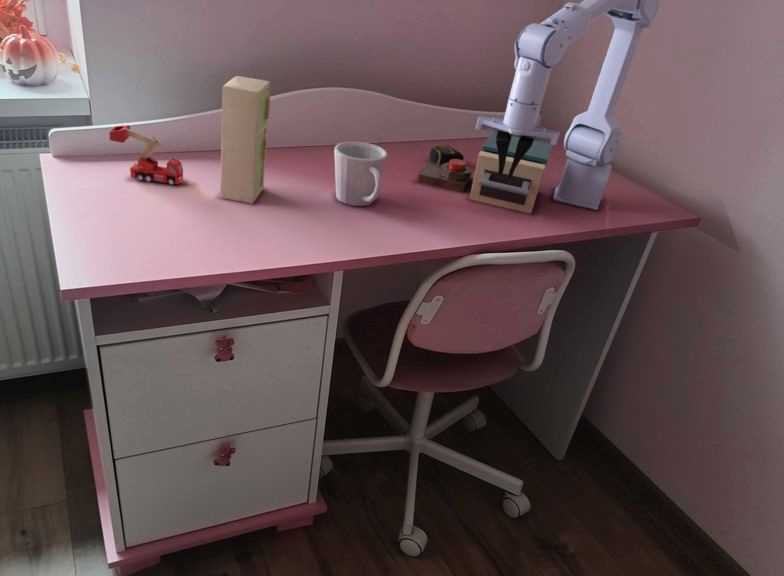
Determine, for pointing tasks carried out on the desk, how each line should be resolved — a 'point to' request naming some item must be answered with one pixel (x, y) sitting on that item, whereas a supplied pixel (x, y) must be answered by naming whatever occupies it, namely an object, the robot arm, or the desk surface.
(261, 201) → the desk surface
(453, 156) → the tape measure
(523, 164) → the oven door
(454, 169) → the button
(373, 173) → the mug
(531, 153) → the toy oven
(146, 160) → the toy fire truck
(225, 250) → the desk surface
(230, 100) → the toy refrigerator
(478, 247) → the desk surface
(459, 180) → the timer block
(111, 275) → the desk surface
